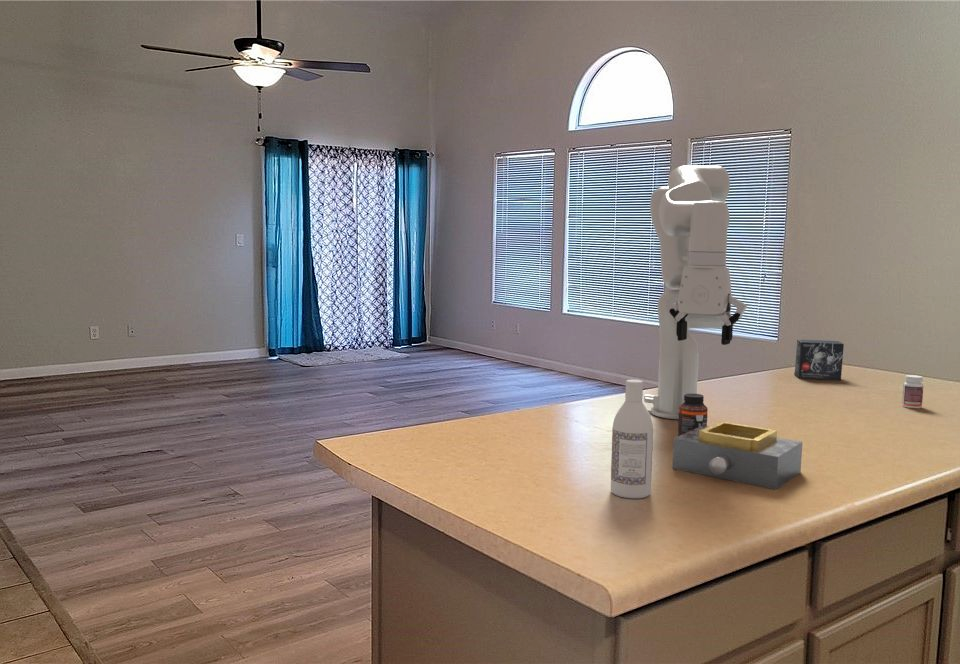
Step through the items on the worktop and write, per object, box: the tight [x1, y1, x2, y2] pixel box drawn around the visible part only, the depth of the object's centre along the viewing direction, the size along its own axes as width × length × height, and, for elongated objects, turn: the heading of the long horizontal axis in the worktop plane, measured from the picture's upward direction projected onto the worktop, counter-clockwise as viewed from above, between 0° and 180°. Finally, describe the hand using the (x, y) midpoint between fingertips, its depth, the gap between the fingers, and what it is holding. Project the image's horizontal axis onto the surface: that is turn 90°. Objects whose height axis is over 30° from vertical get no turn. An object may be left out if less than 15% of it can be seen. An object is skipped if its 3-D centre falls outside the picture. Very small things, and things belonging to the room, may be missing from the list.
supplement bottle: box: [677, 393, 709, 437], centre depth 173 cm, size 6×6×11 cm
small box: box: [793, 338, 845, 381], centre depth 261 cm, size 13×7×12 cm, turn 81°
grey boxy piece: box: [671, 421, 803, 490], centre depth 155 cm, size 20×17×8 cm
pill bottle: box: [901, 374, 924, 409], centre depth 217 cm, size 5×5×8 cm
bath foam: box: [610, 379, 654, 500], centre depth 140 cm, size 7×7×20 cm
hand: (703, 342), depth 171 cm, fingers open, 9 cm apart
